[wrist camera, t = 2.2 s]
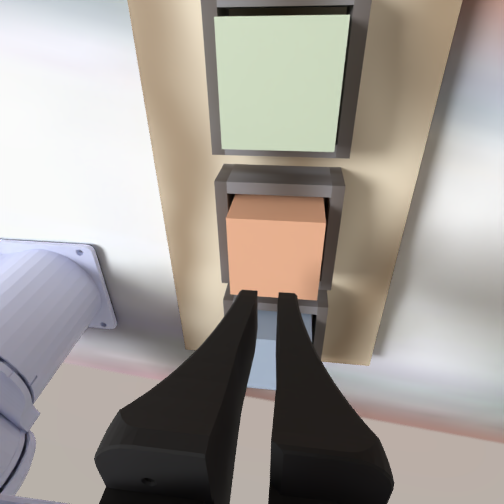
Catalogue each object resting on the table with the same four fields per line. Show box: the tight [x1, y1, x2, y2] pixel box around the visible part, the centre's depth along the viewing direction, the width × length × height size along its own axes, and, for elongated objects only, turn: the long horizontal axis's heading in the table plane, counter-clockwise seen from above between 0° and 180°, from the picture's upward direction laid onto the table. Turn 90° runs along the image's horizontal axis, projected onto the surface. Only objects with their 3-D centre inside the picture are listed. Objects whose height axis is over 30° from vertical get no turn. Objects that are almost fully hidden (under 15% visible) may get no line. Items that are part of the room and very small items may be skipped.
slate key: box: [247, 310, 312, 390], centre depth 22 cm, size 4×4×3 cm
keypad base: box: [128, 0, 462, 366], centre depth 20 cm, size 14×24×4 cm, turn 0°
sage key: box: [214, 15, 350, 152], centre depth 14 cm, size 4×4×3 cm
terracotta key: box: [226, 194, 326, 300], centre depth 18 cm, size 4×4×3 cm
